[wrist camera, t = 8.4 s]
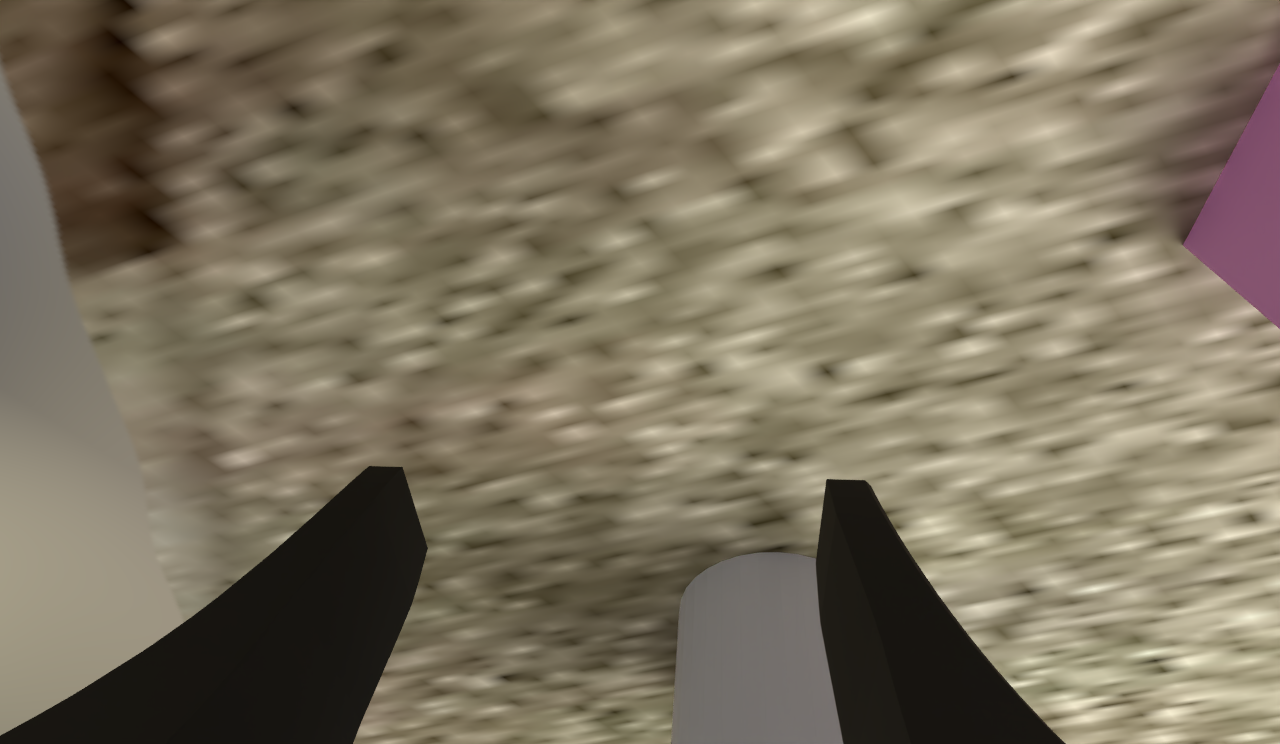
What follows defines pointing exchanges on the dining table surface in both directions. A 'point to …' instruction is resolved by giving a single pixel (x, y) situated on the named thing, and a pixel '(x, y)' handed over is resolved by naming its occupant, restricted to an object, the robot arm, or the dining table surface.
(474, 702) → the dining table surface
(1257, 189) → the bracket
